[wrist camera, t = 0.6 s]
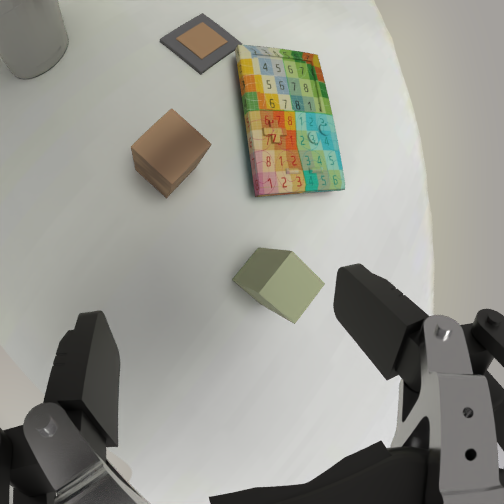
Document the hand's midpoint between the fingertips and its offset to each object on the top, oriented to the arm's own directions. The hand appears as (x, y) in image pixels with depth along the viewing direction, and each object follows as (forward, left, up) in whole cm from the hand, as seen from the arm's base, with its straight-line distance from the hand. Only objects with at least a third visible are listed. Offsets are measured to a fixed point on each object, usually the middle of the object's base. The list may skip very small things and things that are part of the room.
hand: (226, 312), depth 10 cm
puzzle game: (-2, +22, -25) cm, 34 cm away
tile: (-18, +23, -25) cm, 38 cm away
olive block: (+9, +5, -25) cm, 27 cm away
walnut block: (-8, +7, -25) cm, 27 cm away
